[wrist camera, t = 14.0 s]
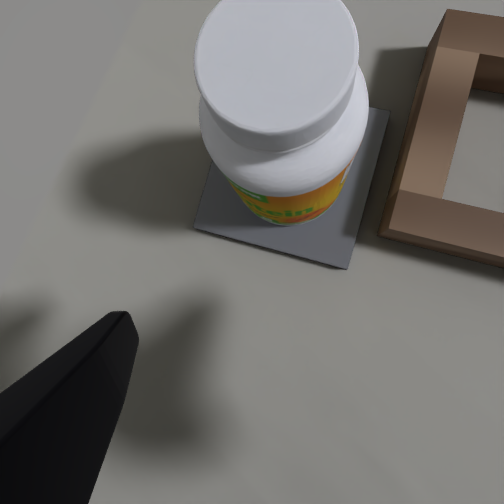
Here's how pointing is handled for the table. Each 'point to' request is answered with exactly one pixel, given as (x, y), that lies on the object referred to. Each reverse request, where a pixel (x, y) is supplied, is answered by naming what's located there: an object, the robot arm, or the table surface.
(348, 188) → the rubber mat
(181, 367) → the table surface
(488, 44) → the walnut collar
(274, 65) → the supplement bottle
